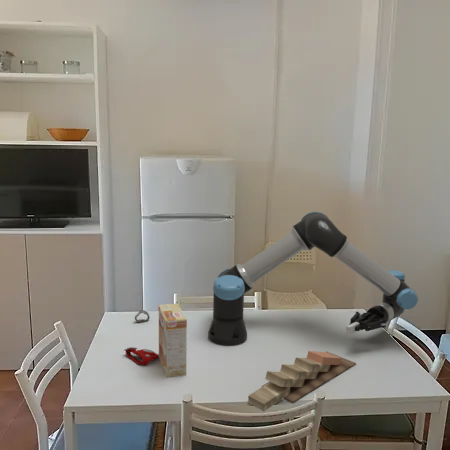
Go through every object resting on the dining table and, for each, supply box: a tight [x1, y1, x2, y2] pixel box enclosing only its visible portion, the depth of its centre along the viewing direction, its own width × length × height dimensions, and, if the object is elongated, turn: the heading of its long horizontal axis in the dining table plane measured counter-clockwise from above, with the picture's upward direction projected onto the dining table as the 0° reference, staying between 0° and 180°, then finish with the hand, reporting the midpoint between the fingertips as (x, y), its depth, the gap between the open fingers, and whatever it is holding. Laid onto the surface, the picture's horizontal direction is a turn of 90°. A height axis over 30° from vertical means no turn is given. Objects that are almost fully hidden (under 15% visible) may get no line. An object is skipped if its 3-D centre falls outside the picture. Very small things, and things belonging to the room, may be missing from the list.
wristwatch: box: [134, 309, 150, 324], centre depth 196 cm, size 4×6×5 cm, turn 122°
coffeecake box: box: [158, 303, 188, 378], centre depth 157 cm, size 15×7×20 cm, turn 17°
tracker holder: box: [123, 346, 159, 366], centre depth 163 cm, size 12×4×10 cm
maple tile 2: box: [279, 364, 318, 379], centre depth 149 cm, size 2×6×12 cm
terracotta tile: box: [306, 350, 341, 365], centre depth 159 cm, size 2×6×12 cm
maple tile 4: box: [247, 381, 290, 412], centre depth 140 cm, size 2×6×12 cm
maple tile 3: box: [264, 370, 304, 387], centre depth 144 cm, size 2×6×12 cm
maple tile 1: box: [293, 357, 330, 372], centre depth 154 cm, size 2×6×12 cm
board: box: [261, 350, 357, 404], centre depth 155 cm, size 36×12×1 cm, turn 135°
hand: (348, 330), depth 168 cm, fingers closed
